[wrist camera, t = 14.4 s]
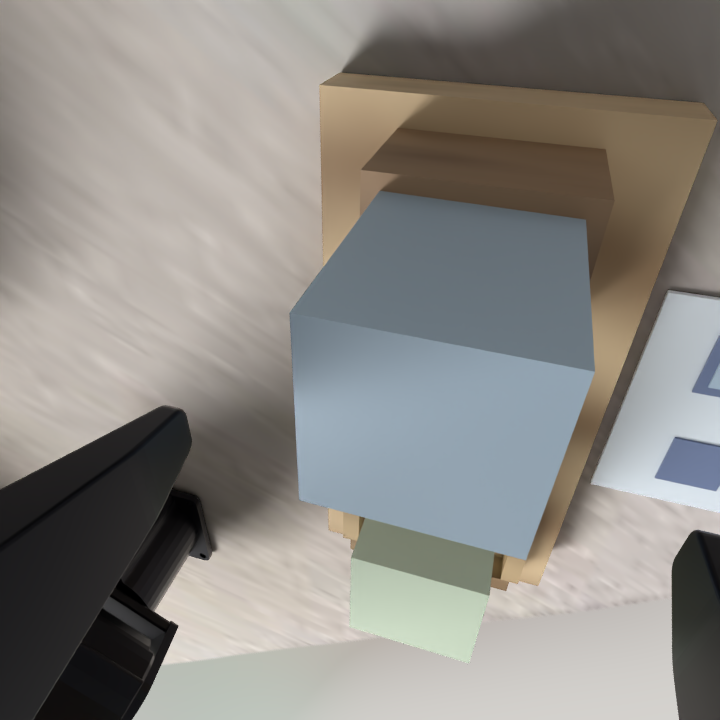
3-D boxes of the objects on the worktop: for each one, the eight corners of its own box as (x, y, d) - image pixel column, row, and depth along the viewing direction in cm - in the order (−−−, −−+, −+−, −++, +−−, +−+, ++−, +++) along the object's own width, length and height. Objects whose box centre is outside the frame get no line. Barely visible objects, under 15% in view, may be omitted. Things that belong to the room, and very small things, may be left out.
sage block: (485, 540, 27) (468, 663, 23) (385, 514, 28) (349, 626, 24) (504, 469, 24) (489, 595, 20) (390, 443, 25) (351, 557, 21)
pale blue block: (538, 383, 16) (525, 560, 12) (371, 349, 17) (299, 500, 13) (586, 219, 13) (595, 371, 9) (379, 190, 14) (289, 313, 10)
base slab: (539, 552, 30) (534, 665, 25) (340, 501, 32) (301, 596, 27) (703, 102, 16) (756, 169, 12) (339, 72, 19) (264, 117, 14)
